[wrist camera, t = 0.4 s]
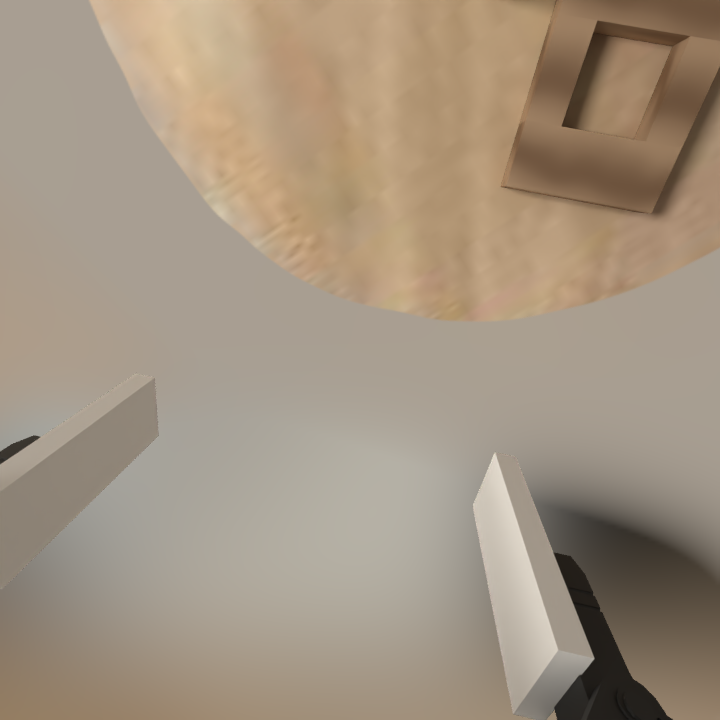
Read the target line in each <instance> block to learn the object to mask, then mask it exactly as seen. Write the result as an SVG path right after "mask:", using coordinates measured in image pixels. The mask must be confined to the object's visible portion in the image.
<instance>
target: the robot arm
mask: <svg viewBox="0 0 720 720" xmlns="http://www.w3.org/2000/svg"><path fill="white" fill-rule="evenodd" d="M157 437H158V421H157V405H156V391H155V378H153V377H149V376H144V375H140V374H134V375H133V376H131V377H130V378H128V379H127V380H125V381H124V382H122V383H121V384H119V385H118V386H116V387H115V388H113V389H112V390H110V391H109V392H107V393H106V394H105V395H103V396H102V397H100V398H98V399H97V400H95V401H94V402H92V403H91V404H89V405H88V406H86V407H85V408H84V409H82V410H81V411H79V412H78V413H76V414H75V415H73V416H72V417H70V418H69V419H67V420H66V421H64V422H63V423H61V424H60V425H58V426H57V427H55V428H54V429H52V430H51V431H49V432H48V433H46V434H45V435H44V436H42V437H39V436H31V437H29V438H26V439H24V440H21V441H19V442H16V443H13V444H11V445H10V446H8V447H7V448H5V449H4V450H2V451H1V452H0V589H3V588H4V587H5V586H6V585H7V584H8V583H9V582H10V581H11V580H12V579H13V578H14V577H15V576H16V575H17V574H18V573H19V572H20V571H21V570H22V569H23V568H24V567H25V566H26V565H27V564H28V563H29V562H30V561H31V560H32V559H33V558H34V557H35V556H36V555H37V554H38V553H39V552H40V551H41V550H42V549H44V547H45V546H46V545H48V544H49V543H50V542H51V541H52V540H53V539H54V538H55V537H56V536H57V535H58V534H59V533H60V532H61V531H62V530H63V529H64V528H65V527H66V526H67V525H68V524H69V523H70V522H71V521H72V520H73V519H74V518H75V517H76V516H77V515H78V514H79V513H80V512H81V511H82V510H83V509H84V508H85V507H86V506H87V505H88V504H89V503H90V502H91V501H92V500H93V499H94V498H96V496H98V495H99V493H100V492H102V490H104V489H105V488H106V487H107V486H108V485H109V484H110V483H111V482H112V481H113V480H114V479H115V478H116V477H117V476H118V475H119V474H120V473H121V472H122V471H123V470H124V469H125V468H126V467H127V466H128V465H129V464H130V463H131V462H132V461H133V460H134V459H135V458H136V457H137V456H138V455H139V454H140V453H141V452H142V451H143V450H144V449H145V448H146V447H148V446H149V445H150V444H151V442H153V441H154V440H155V439H156V438H157ZM473 510H474V515H475V520H476V525H477V531H478V536H479V541H480V546H481V551H482V556H483V561H484V566H485V572H486V577H487V582H488V587H489V592H490V597H491V602H492V608H493V613H494V618H495V623H496V628H497V633H498V639H499V643H500V649H501V654H502V659H503V664H504V669H505V674H506V679H507V685H508V690H509V695H510V700H511V705H512V710H513V714H515V715H519V716H523V717H527V718H531V719H535V720H547V718H548V717H549V716H550V715H551V713H552V712H553V711H554V709H555V713H556V716H557V720H673V719H671V718H670V717H668V716H667V715H666V713H665V712H664V710H663V709H662V707H661V706H660V704H659V703H658V701H657V700H656V698H655V697H654V696H653V695H652V694H651V693H649V691H648V690H647V689H646V688H645V687H644V686H643V685H641V684H640V683H638V682H637V681H635V680H634V679H633V678H632V676H631V675H630V673H629V671H628V669H627V666H626V665H625V662H624V660H623V658H622V656H621V653H620V651H619V649H618V646H617V644H616V642H615V640H614V638H613V635H612V633H611V631H610V629H609V626H608V624H607V622H606V620H605V618H604V616H603V613H602V612H600V607H599V604H598V602H597V600H596V598H595V596H593V591H592V589H591V587H590V585H589V582H588V580H587V578H586V575H585V574H584V573H583V571H582V570H581V569H580V568H579V566H578V565H577V564H576V562H575V561H574V560H573V559H572V557H571V556H567V555H562V554H558V553H554V552H553V551H552V548H551V546H550V543H549V541H548V538H547V536H546V533H545V530H544V528H543V525H542V523H541V520H540V518H539V515H538V513H537V510H536V508H535V505H534V502H533V500H532V498H531V495H530V492H529V490H528V487H527V484H526V482H525V479H524V477H523V474H522V472H521V469H520V466H519V464H518V461H517V459H516V457H515V456H511V455H506V454H501V453H497V452H495V453H494V456H493V458H492V461H491V463H490V466H489V468H488V471H487V473H486V475H485V478H484V480H483V483H482V485H481V487H480V490H479V492H478V495H477V497H476V500H475V502H474V504H473Z"/></svg>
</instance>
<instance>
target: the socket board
mask: <svg viewBox="0 0 720 720" xmlns="http://www.w3.org/2000/svg"><path fill="white" fill-rule="evenodd" d="M593 33H599V34H604V35H610V36H616V37H622V38H628V39H634V40H640V41H646V42H651V43H657V44H663V45H669V46H673V47H672V49H671V52H670V54H669V56H668V59H667V61H666V64H665V66H664V68H663V71H662V73H661V76H660V78H659V80H658V83H657V85H656V88H655V90H654V93H653V95H652V97H651V100H650V102H649V105H648V107H647V109H646V112H645V114H644V117H643V119H642V121H641V124H640V126H639V129H638V131H637V133H636V136H635V138H634V139H628V138H623V137H617V136H612V135H606V134H601V133H595V132H590V131H584V130H579V129H573V128H567V127H562V123H563V120H564V117H565V114H566V111H567V108H568V105H569V102H570V100H571V97H572V94H573V91H574V88H575V85H576V82H577V79H578V76H579V73H580V70H581V67H582V64H583V61H584V58H585V56H586V53H587V50H588V47H589V44H590V41H591V38H592V35H593ZM719 67H720V0H556V4H555V7H554V10H553V14H552V17H551V20H550V24H549V27H548V30H547V34H546V37H545V40H544V44H543V47H542V50H541V54H540V57H539V61H538V64H537V67H536V71H535V74H534V77H533V81H532V84H531V87H530V91H529V94H528V97H527V101H526V104H525V107H524V111H523V114H522V117H521V121H520V124H519V127H518V131H517V134H516V137H515V141H514V144H513V147H512V151H511V154H510V157H509V161H508V164H507V167H506V171H505V174H504V177H503V181H502V184H501V187H506V188H512V189H517V190H522V191H528V192H533V193H538V194H544V195H549V196H554V197H560V198H565V199H570V200H576V201H581V202H586V203H592V204H597V205H602V206H608V207H613V208H618V209H624V210H629V211H634V212H641V213H652V211H653V209H654V207H655V205H656V202H657V200H658V198H659V196H660V194H661V192H662V190H663V187H664V185H665V183H666V181H667V179H668V177H669V175H670V172H671V170H672V168H673V166H674V164H675V162H676V159H677V157H678V155H679V153H680V151H681V149H682V147H683V144H684V142H685V140H686V138H687V136H688V134H689V132H690V129H691V127H692V125H693V123H694V121H695V119H696V117H697V114H698V112H699V110H700V108H701V106H702V104H703V101H704V99H705V97H706V95H707V93H708V91H709V89H710V86H711V84H712V82H713V80H714V78H715V76H716V74H717V71H718V69H719Z"/></svg>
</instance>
